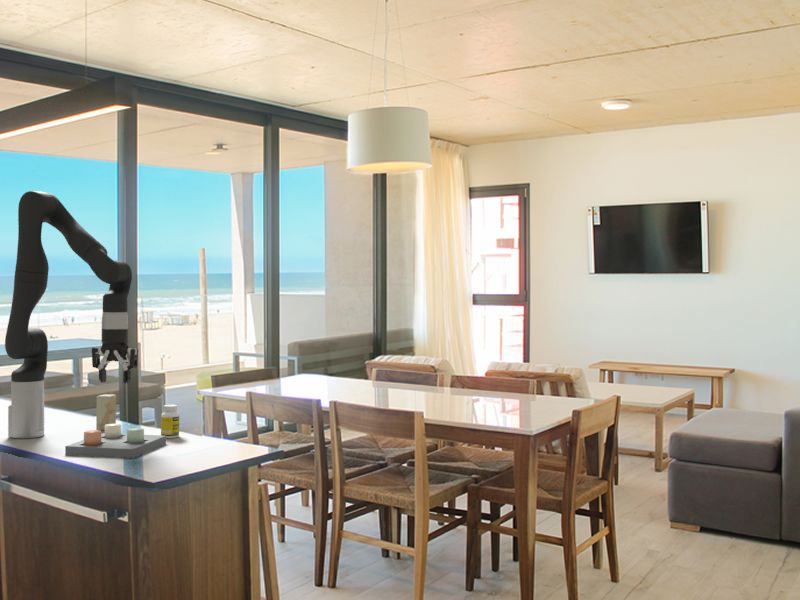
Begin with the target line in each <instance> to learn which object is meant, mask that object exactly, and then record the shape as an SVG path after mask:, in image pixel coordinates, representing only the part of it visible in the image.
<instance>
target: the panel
mask: <svg viewBox="0 0 800 600" xmlns="http://www.w3.org/2000/svg"><path fill="white" fill-rule="evenodd" d="M166 444H167V438H166V436H163V435H161V434H159V435H157V434H144V442H143V443H140V444H134V443H127V433H121V437H120V438H117V439H114V438H105V432H103V433H102V432H101V445H98V446H84V439H83V440H80V441H76V442H73V443H71V444H68V445H67V444H66V445H65V449H64V450H65V456H82V457H84V456H85V457H86V456H87V457H102V458H105V457H106V458H122V459H123V458H124V459H130V458H131V459H133V458H137V457H138V456H140V455H143V454H146V453H148V452H150V451H153V450H155V449H157V448H159V447H162V446H164V445H166Z"/></svg>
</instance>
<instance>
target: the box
mask: <svg viewBox="0 0 800 600" xmlns="http://www.w3.org/2000/svg"><path fill="white" fill-rule="evenodd" d="M116 401H117V395H116V394H110V393H109V394H107V393H106V394H100V395H97V396H96V412H95V413H96V415H95V416H96V417H95V418H96V420H95V421H96V423H95V426H96V427H95V428H96V429H95V430H100V431H105V425H106V424H117V423H116V420H117V418H116V417H117V416H116V415H117V409H116V408H117V402H116Z"/></svg>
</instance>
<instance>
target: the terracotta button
mask: <svg viewBox="0 0 800 600" xmlns="http://www.w3.org/2000/svg"><path fill="white" fill-rule="evenodd" d="M101 434H102V430H96V429H93V430H90V429H89V430H86V431H83V440H84V446H98V445H101Z"/></svg>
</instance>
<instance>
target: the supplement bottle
mask: <svg viewBox="0 0 800 600" xmlns="http://www.w3.org/2000/svg"><path fill="white" fill-rule="evenodd" d="M177 410H178V405H177V404H165V405H163V411H164V412H162V413H161V416H160V417H161V419H160V421H161V423H160V424H161V425H160V435H163V436H166V439H175V438H178V437H179V436H180V413H179V412H178V411H177Z"/></svg>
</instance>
